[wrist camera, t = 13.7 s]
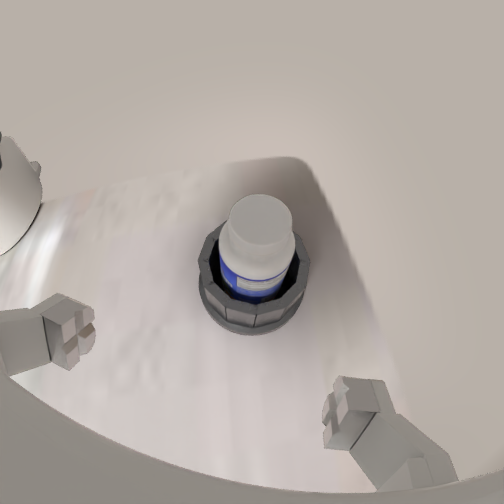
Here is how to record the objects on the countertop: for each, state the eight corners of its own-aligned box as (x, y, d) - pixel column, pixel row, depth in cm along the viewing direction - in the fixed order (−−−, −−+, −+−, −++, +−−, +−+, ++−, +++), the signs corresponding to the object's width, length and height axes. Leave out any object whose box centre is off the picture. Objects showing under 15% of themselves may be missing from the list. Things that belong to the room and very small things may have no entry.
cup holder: (186, 319, 25) (176, 301, 21) (217, 231, 30) (214, 201, 26) (291, 346, 25) (303, 333, 20) (308, 253, 29) (321, 226, 25)
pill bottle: (221, 254, 28) (216, 184, 19) (279, 253, 28) (296, 184, 20) (222, 309, 25) (214, 256, 17) (284, 308, 25) (308, 254, 17)
